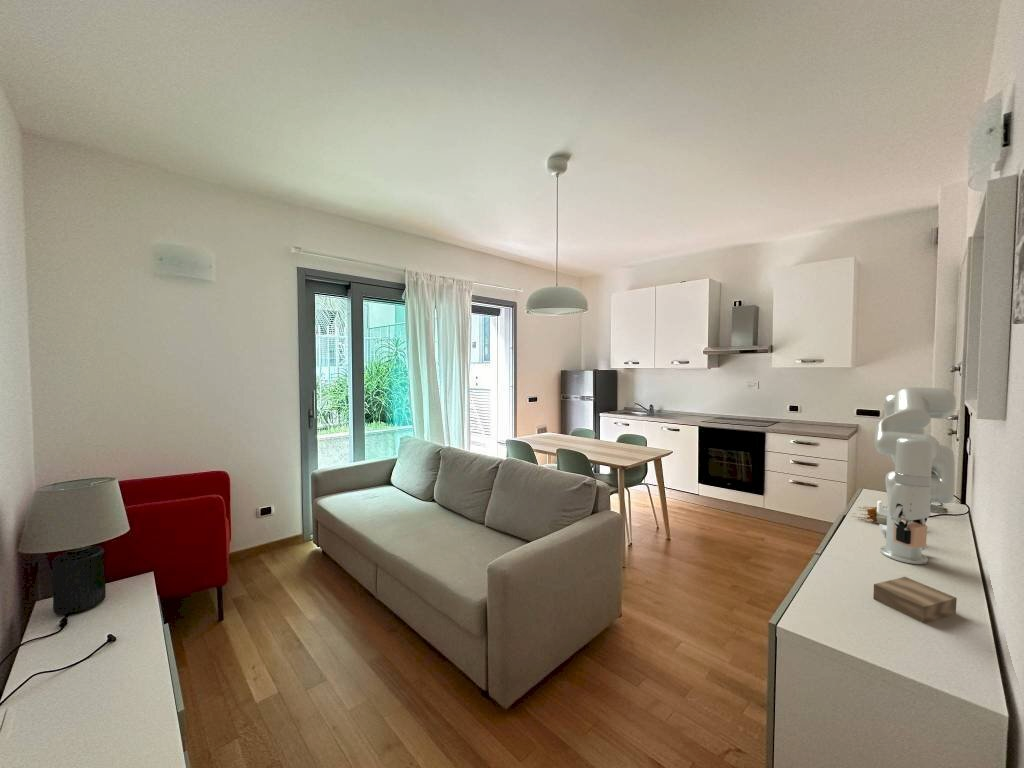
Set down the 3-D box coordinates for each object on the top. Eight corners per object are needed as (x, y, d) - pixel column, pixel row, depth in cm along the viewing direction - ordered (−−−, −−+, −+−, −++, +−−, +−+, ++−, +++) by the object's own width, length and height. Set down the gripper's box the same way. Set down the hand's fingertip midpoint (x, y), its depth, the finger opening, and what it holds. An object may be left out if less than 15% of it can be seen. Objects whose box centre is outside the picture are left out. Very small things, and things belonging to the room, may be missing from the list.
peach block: (905, 539, 122) (905, 519, 122) (926, 546, 117) (927, 525, 117) (893, 541, 120) (894, 521, 120) (914, 548, 116) (915, 528, 115)
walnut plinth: (904, 592, 127) (905, 576, 126) (955, 614, 115) (956, 597, 115) (873, 600, 122) (873, 584, 122) (923, 624, 111) (924, 606, 111)
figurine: (909, 543, 159) (910, 506, 158) (876, 537, 165) (878, 501, 164) (906, 537, 165) (907, 501, 164) (875, 531, 171) (876, 496, 170)
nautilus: (853, 524, 180) (848, 515, 192) (920, 532, 168) (910, 522, 181) (852, 506, 180) (847, 498, 193) (919, 512, 168) (909, 504, 181)
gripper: (916, 474, 124) (913, 532, 125) (877, 478, 119) (874, 539, 120) (948, 480, 117) (945, 542, 118) (908, 486, 112) (905, 550, 113)
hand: (909, 540), depth 119 cm, fingers closed on peach block, 5 cm apart
